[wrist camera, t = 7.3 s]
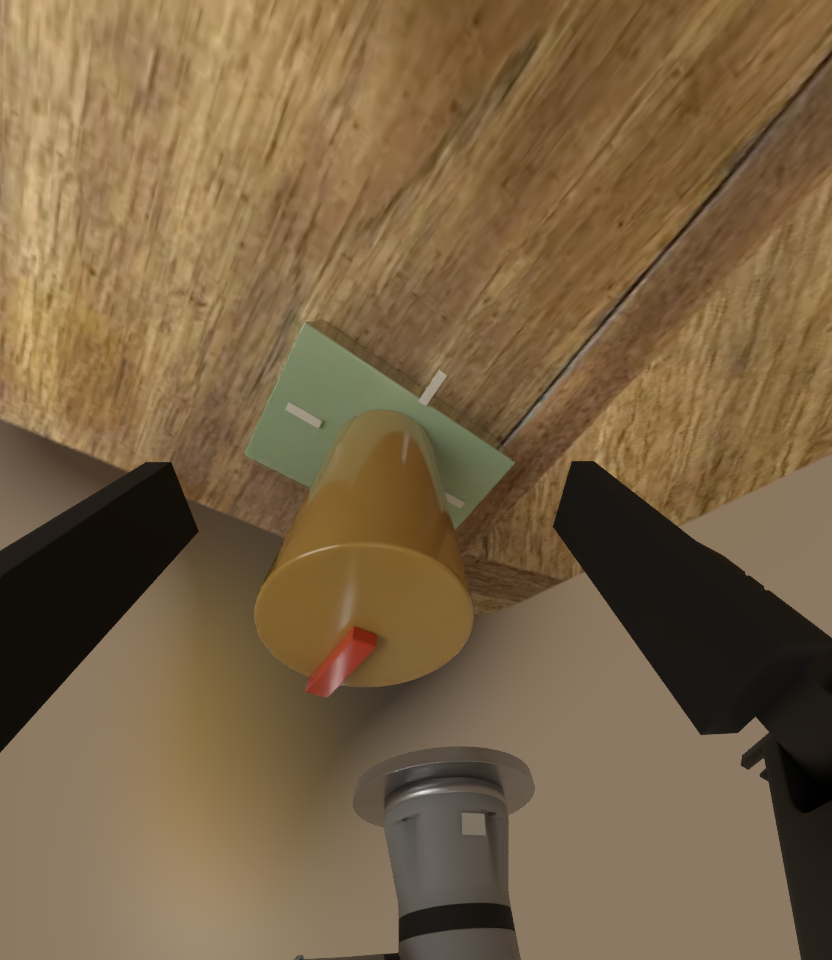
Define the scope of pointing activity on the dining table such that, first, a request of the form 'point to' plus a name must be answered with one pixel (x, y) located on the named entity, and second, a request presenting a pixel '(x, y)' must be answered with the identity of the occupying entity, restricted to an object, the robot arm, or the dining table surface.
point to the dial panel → (361, 388)
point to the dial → (369, 565)
